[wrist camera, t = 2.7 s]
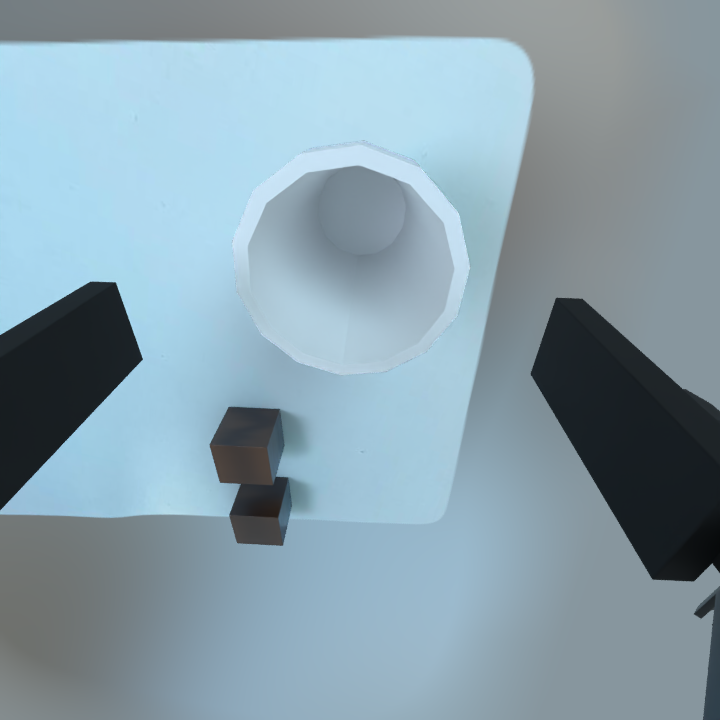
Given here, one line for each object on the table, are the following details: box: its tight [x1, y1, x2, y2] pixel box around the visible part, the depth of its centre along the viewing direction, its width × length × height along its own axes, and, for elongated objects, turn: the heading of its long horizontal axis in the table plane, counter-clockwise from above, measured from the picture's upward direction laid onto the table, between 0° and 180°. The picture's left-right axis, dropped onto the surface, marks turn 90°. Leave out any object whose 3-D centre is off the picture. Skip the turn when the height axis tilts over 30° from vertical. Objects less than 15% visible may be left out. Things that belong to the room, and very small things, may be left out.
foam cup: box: [232, 140, 470, 375], centre depth 21 cm, size 10×9×13 cm
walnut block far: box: [229, 477, 292, 546], centre depth 41 cm, size 5×5×5 cm
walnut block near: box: [210, 407, 284, 485], centre depth 36 cm, size 5×5×5 cm
